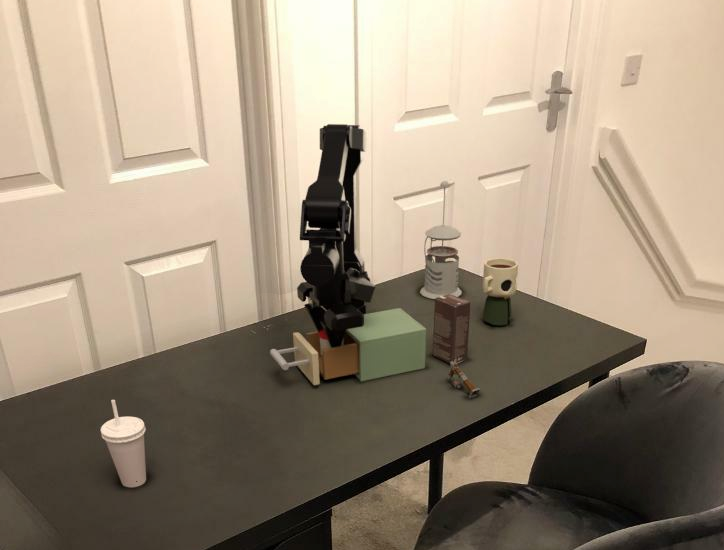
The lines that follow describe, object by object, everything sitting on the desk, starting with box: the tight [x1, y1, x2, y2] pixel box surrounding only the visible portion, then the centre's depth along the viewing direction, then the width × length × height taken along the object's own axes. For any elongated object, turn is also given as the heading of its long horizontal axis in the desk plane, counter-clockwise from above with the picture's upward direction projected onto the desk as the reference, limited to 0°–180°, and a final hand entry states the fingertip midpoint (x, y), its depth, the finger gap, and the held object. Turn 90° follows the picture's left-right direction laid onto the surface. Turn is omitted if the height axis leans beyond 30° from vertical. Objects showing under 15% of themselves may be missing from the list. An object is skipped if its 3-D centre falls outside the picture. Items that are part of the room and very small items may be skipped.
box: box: [432, 294, 472, 364], centre depth 160 cm, size 6×4×12 cm
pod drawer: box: [269, 330, 359, 386], centre depth 155 cm, size 18×10×6 cm, turn 115°
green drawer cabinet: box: [345, 307, 427, 382], centre depth 159 cm, size 14×12×8 cm
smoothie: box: [100, 399, 147, 488], centre depth 123 cm, size 6×6×14 cm
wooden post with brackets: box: [446, 361, 481, 399], centre depth 151 cm, size 2×8×4 cm, turn 35°
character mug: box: [482, 257, 519, 326], centre depth 174 cm, size 11×7×13 cm, turn 138°
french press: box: [419, 180, 463, 300], centre depth 186 cm, size 10×12×25 cm
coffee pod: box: [318, 330, 344, 355], centre depth 154 cm, size 5×5×4 cm
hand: (331, 347), depth 155 cm, fingers closed on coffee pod, 5 cm apart
